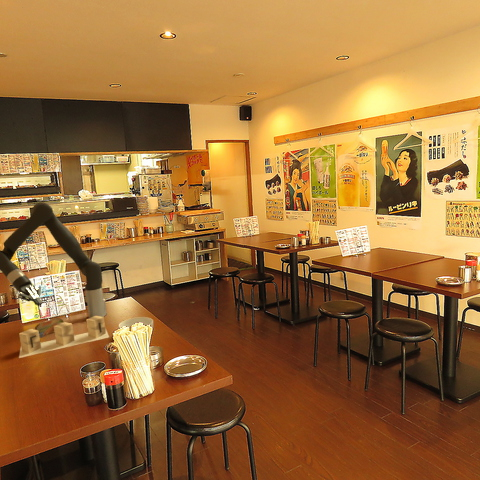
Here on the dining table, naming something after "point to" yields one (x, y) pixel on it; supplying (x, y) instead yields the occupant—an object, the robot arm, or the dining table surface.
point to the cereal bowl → (134, 320)
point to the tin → (48, 327)
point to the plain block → (64, 333)
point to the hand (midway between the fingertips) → (40, 304)
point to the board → (53, 346)
